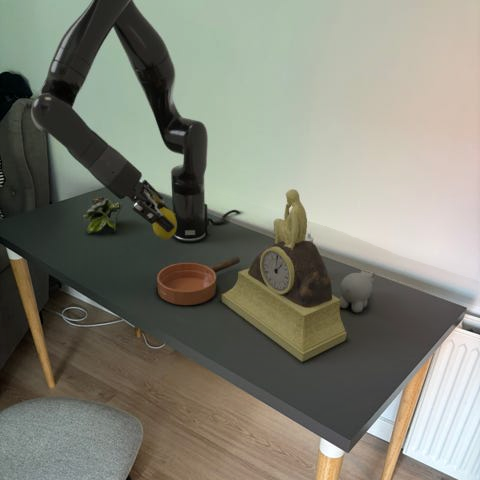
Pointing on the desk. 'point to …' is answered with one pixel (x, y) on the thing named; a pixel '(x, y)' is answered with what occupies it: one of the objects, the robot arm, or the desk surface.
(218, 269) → the pan handle
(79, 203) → the desk surface
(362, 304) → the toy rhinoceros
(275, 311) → the decorative clock
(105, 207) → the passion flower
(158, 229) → the lemon
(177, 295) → the pan
